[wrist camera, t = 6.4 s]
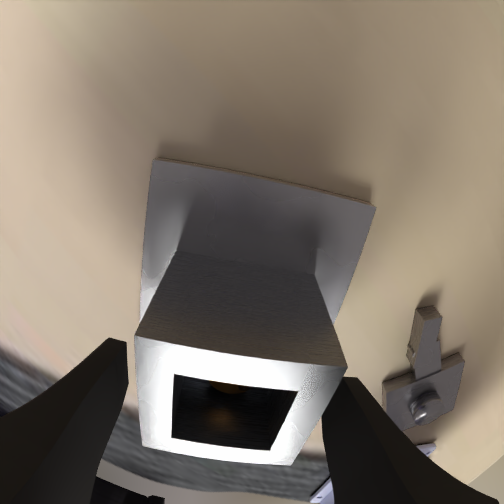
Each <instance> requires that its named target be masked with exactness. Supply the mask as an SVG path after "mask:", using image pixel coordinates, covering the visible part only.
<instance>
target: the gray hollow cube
mask: <svg viewBox="0 0 504 504" xmlns="http://www.w3.org/2000/svg"><path fill="white" fill-rule="evenodd" d="M134 342H135V366H136V383H137V396H138V408H139V418H140V428H141V437H142V445H143V446H146V447H150V448H155V449H159V450H164V451H169V452H174V453H179V454H185V455H191V456H197V457H203V458H210V459H218V460H226V461H235V462H245V463H257V464H274V465H291V464H292V462H293V461H294V459H295V458H296V456H297V455H298V453H299V452H300V450H301V448H302V447H303V445H304V444H305V442H306V440H307V439H308V437H309V436H310V434H311V432H312V431H313V429H314V427H315V426H316V424H317V422H318V421H319V419H320V417H321V416H322V414H323V412H324V410H325V409H326V407H327V405H328V403H329V401H330V400H331V398H332V396H333V394H334V392H335V391H336V389H337V387H338V385H339V383H340V381H341V379H342V377H343V376H344V374H345V372H346V370H347V368H348V366H347V363H346V360H345V357H344V354H343V351H342V348H341V346H340V343H339V340H338V337H337V334H336V331H335V329H334V326H333V323H332V320H331V318H330V315H329V312H328V309H327V307H326V304H325V301H324V299H323V296H322V293H321V291H320V288H319V285H318V283H317V280H316V277H315V275H313V274H307V273H301V272H295V271H289V270H284V269H278V268H272V267H266V266H261V265H255V264H249V263H244V262H238V261H232V260H227V259H221V258H216V257H210V256H205V255H199V254H194V253H188V252H183V251H177V250H176V252H175V254H174V256H173V258H172V260H171V262H170V264H169V266H168V268H167V270H166V272H165V273H164V275H163V277H162V279H161V281H160V283H159V285H158V287H157V289H156V291H155V293H154V295H153V297H152V299H151V302H150V304H149V306H148V308H147V310H146V312H145V314H144V316H143V318H142V320H141V322H140V324H139V327H138V329H137V331H136V333H135V335H134ZM209 380H212V381H218V382H225V383H232V384H239V385H246V386H253V387H252V388H250V389H249V390H247V391H245V392H242V393H237V394H230V393H224V392H221V391H219V390H217V389H215V388H214V387H213V386H212V385H211V384H210V382H209Z"/></svg>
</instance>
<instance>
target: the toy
mask: <svg viewBox="0 0 504 504" xmlns="http://www.w3.org/2000/svg"><path fill="white" fill-rule="evenodd" d="M164 499H165V498H162V497H158V496H153V495H152V496H149V497H148V498H147V497H146V496H144V495H141V494H138V493H136V492H133V491H130V490H128V489H125V488H122V487H120V486H118V485H115V484H113V483H110V482H108V481H106V480H103V479H101V478H99V477H97V476H96V478H95V482H94V486H93V490H92V495H91V500H90V504H164Z"/></svg>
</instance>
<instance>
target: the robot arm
mask: <svg viewBox="0 0 504 504" xmlns="http://www.w3.org/2000/svg"><path fill="white" fill-rule="evenodd" d="M128 384H129V381H128V366H127V343H126V342H124V341H120V340H117V339H113V338H108V339H106V340H105V341H104V342H103V343H102V344H101V345H100V346H99V347H98V348H96V349H95V350H94V351H93V352H92V353H91V354H90V355H89V356H88V357H86V358H85V359H84V360H83V361H82V362H81V363H80V364H78V365H77V366H76V367H75V368H74V369H72V370H71V371H70V372H69V373H68V374H67V375H65V376H64V377H63V378H62V379H60V380H59V381H58V382H56V383H55V384H54V385H52V386H51V387H50V388H48V389H47V390H46V391H44V392H43V393H41V394H40V395H38V396H37V397H35V398H34V399H32V400H31V401H29V402H28V403H26V404H24V405H23V406H21V407H19V408H17V409H16V410H14V411H12V412H10V413H8V414H6V415H4V416H2V417H0V504H90V500H91V495H92V490H93V486H94V482H95V478H96V474H97V469H98V466H99V463H100V460H101V458H102V455H103V453H104V450H105V448H106V445H107V443H108V440H109V438H110V435H111V433H112V431H113V428H114V426H115V423H116V421H117V418H118V416H119V414H120V411H121V409H122V405H123V402H124V398H125V395H126V391H127V387H128ZM322 434H323V442H324V447H325V452H326V457H327V462H328V467H329V472H330V479H329V480H328V481H327V482H326V483H325V484H324V485H323V486H322V487H321V488H320V489H319V490H318V491H317V492H316V493H315V494H314V495H313V496H312V497H311V498H310V502H311V503H320V504H499V502H498V500H497V499H494V498H492V497H490V496H487V495H485V494H483V493H481V492H479V491H476V490H475V489H473V488H471V487H469V486H467V485H466V484H464V483H462V482H461V481H459V480H457V479H456V478H454V477H453V476H451V475H450V474H449V473H447V472H446V471H445V470H443V469H442V468H440V467H439V466H438V465H437V464H435V463H434V462H433V461H432V460H431V459H429V458H428V456H429V455H430V454H431V453H432V452H433V451H434V450H435V449H436V445H435V443H431V444H425V445H418V446H415V445H414V444H413V443H412V442H411V441H410V439H409V438H408V437H407V436H406V435H405V434H404V433H403V432H402V431H401V430H400V429H399V428H398V426H397V425H396V424H395V423H394V422H393V421H392V419H391V418H390V417H389V416H388V415H387V413H386V412H385V411H384V410H383V408H382V407H381V406H380V405H379V403H378V402H377V401H376V400H375V398H374V397H373V396H372V395H371V393H370V392H369V391H368V390H367V388H366V387H365V386H364V385H363V383H362V382H361V381H360V380H359V379H358V378H356V377H342V379H341V381H340V383H339V385H338V387H337V389H336V391H335V392H334V394H333V396H332V398H331V400H330V401H329V403H328V405H327V407H326V409H325V410H324V412H323V414H322Z"/></svg>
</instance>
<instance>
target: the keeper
mask: <svg viewBox="0 0 504 504" xmlns="http://www.w3.org/2000/svg"><path fill="white" fill-rule="evenodd" d="M375 210H376V207H375V206H374V205H373V204H371V203H369V202H366V201H362V200H358V199H354V198H351V197H347V196H343V195H339V194H335V193H331V192H327V191H323V190H319V189H315V188H311V187H307V186H303V185H299V184H294V183H290V182H285V181H281V180H276V179H272V178H267V177H263V176H258V175H253V174H248V173H243V172H238V171H233V170H228V169H223V168H217V167H212V166H206V165H201V164H195V163H189V162H183V161H177V160H171V159H165V158H155V159H153V163H152V170H151V177H150V185H149V193H148V202H147V211H146V221H145V232H144V244H143V258H142V275H141V297H140V322H141V320H142V318H143V316H144V314H145V312H146V310H147V308H148V306H149V304H150V302H151V299H152V297H153V295H154V293H155V291H156V289H157V287H158V285H159V283H160V281H161V279H162V277H163V275H164V273H165V272H166V270H167V268H168V266H169V264H170V262H171V260H172V258H173V256H174V254H175V252H176V250H177V251H183V252H188V253H194V254H199V255H205V256H210V257H216V258H221V259H227V260H232V261H238V262H244V263H249V264H255V265H261V266H266V267H272V268H278V269H284V270H289V271H295V272H301V273H307V274H313V275H315V277H316V280H317V283H318V285H319V288H320V291H321V293H322V296H323V299H324V301H325V304H326V307H327V309H328V312H329V315H330V318H331V320H332V323H333V324H334V322H335V320H336V317H337V315H338V312H339V310H340V307H341V305H342V302H343V300H344V297H345V295H346V292H347V290H348V287H349V284H350V282H351V279H352V277H353V274H354V271H355V268H356V266H357V263H358V260H359V257H360V255H361V252H362V249H363V246H364V243H365V240H366V237H367V234H368V232H369V229H370V226H371V222H372V219H373V216H374V213H375ZM209 382H210V384H211V385H212V386H213V387H214V388H215V389H217V390H219V391H221V392H224V393H230V394H237V393H242V392H245V391H247V390H249V389H250V388H252V387H253V386H246V385H239V384H232V383H225V382H218V381H212V380H209Z"/></svg>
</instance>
